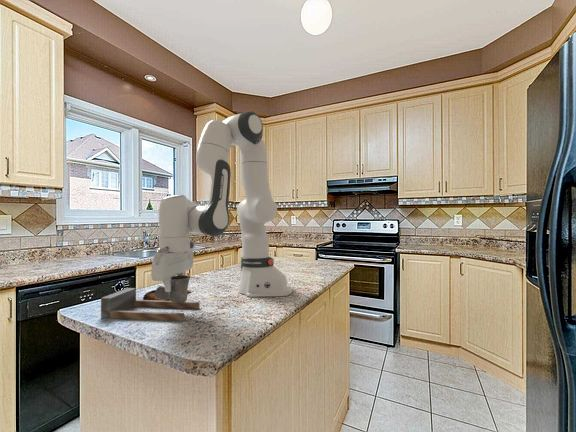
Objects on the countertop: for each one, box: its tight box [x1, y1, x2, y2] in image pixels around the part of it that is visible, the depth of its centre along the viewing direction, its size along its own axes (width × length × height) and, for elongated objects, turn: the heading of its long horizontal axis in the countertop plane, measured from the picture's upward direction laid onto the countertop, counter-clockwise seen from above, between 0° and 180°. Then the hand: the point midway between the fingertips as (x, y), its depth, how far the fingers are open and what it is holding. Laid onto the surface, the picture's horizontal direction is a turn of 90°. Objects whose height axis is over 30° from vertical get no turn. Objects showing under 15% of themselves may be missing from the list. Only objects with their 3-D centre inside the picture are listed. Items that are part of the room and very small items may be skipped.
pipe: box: [155, 274, 191, 303], centre depth 92 cm, size 6×13×8 cm, turn 68°
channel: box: [100, 287, 200, 322], centre depth 92 cm, size 26×12×6 cm, turn 84°
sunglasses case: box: [142, 289, 192, 301], centre depth 110 cm, size 18×7×7 cm
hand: (174, 288), depth 92 cm, fingers closed on pipe, 5 cm apart
